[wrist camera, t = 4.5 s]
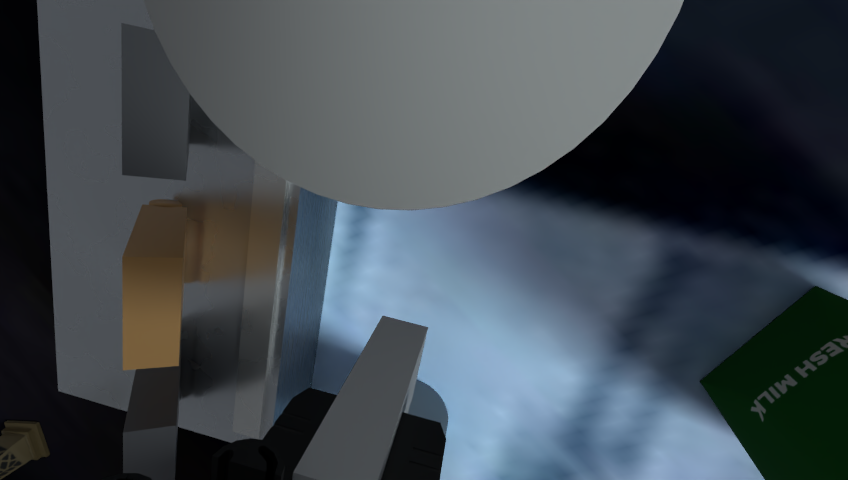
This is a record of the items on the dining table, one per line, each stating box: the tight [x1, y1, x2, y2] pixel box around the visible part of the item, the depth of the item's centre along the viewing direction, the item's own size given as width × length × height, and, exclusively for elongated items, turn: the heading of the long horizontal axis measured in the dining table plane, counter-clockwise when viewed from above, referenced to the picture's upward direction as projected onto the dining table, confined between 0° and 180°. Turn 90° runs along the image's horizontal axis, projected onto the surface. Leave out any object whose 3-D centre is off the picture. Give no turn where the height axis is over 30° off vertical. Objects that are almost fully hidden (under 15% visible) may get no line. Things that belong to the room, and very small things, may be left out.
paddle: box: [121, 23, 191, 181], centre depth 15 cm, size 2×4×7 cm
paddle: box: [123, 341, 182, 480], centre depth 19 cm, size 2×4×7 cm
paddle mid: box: [122, 199, 187, 370], centre depth 17 cm, size 2×4×7 cm
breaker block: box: [37, 0, 337, 443], centre depth 22 cm, size 12×20×5 cm, turn 169°
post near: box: [144, 0, 684, 210], centre depth 12 cm, size 5×5×18 cm
